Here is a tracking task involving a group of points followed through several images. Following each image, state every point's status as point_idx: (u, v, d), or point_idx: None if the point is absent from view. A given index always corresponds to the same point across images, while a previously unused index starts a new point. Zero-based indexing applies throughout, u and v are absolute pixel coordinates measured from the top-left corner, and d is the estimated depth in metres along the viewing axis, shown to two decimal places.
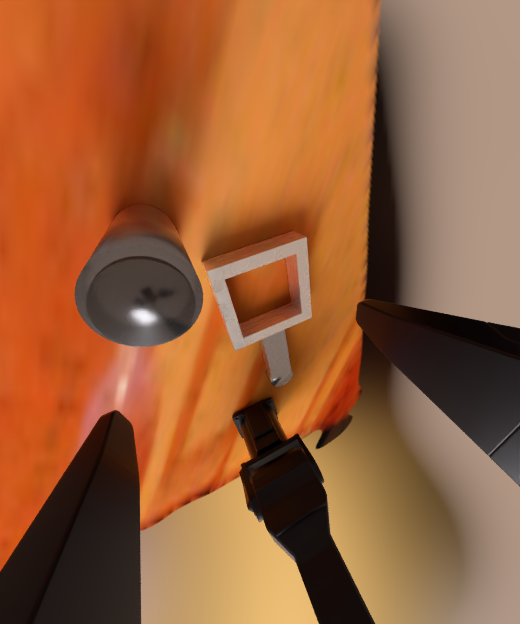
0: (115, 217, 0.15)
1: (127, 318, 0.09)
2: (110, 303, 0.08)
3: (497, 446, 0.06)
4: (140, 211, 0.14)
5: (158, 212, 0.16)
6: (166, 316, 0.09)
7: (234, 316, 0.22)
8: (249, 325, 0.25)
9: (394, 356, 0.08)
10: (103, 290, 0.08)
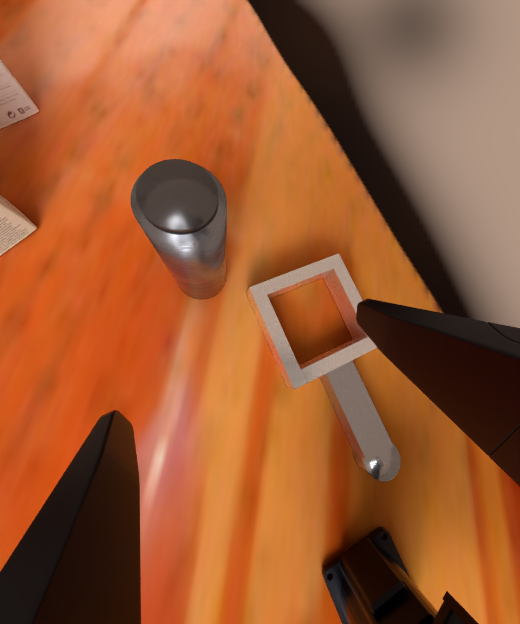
0: None
1: (163, 200, 0.11)
2: (152, 187, 0.11)
3: (498, 446, 0.06)
4: None
5: None
6: (194, 202, 0.11)
7: (284, 337, 0.20)
8: (307, 362, 0.21)
9: (394, 356, 0.08)
10: (150, 177, 0.11)
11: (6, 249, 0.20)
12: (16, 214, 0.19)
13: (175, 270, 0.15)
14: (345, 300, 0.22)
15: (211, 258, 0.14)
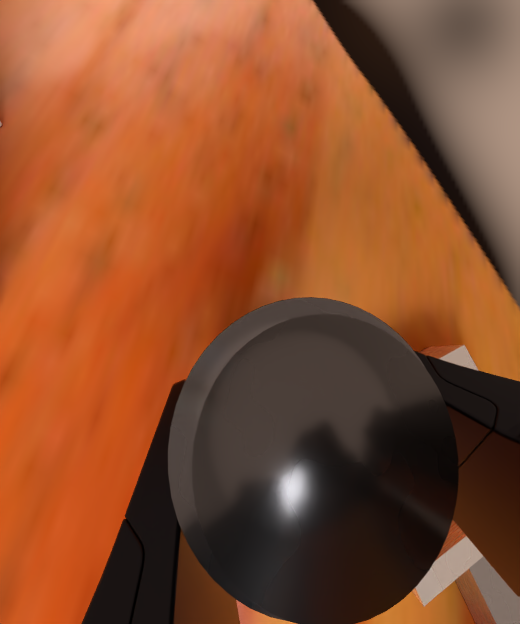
0: None
1: (291, 496, 0.03)
2: (250, 439, 0.03)
3: None
4: None
5: None
6: (389, 481, 0.03)
7: None
8: None
9: None
10: (239, 398, 0.03)
11: None
12: None
13: None
14: None
15: None
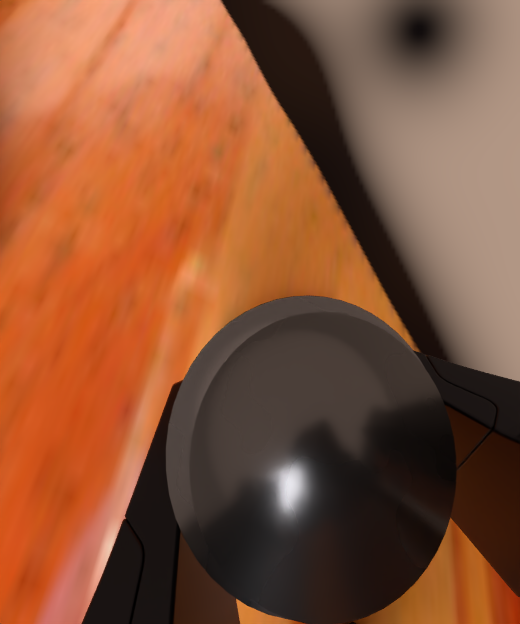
0: None
1: (288, 493, 0.03)
2: (249, 437, 0.03)
3: None
4: None
5: None
6: (387, 479, 0.03)
7: None
8: None
9: None
10: (237, 396, 0.03)
11: None
12: None
13: None
14: None
15: None
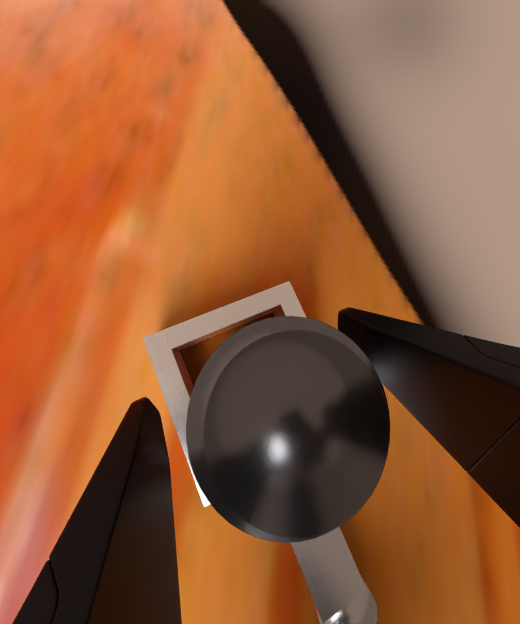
0: None
1: (269, 454, 0.04)
2: (243, 416, 0.04)
3: (475, 462, 0.06)
4: None
5: None
6: (338, 446, 0.05)
7: None
8: None
9: (374, 367, 0.08)
10: (235, 389, 0.04)
11: None
12: None
13: None
14: None
15: None
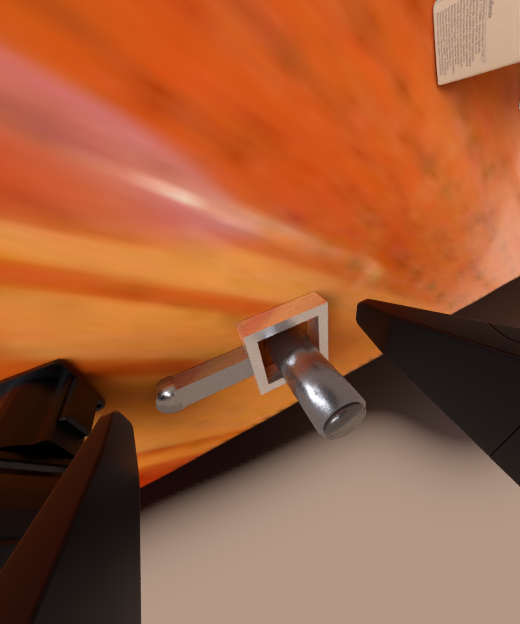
0: None
1: (345, 419, 0.18)
2: (354, 413, 0.18)
3: (498, 446, 0.06)
4: None
5: None
6: (339, 430, 0.18)
7: (284, 328, 0.23)
8: None
9: (394, 356, 0.08)
10: (359, 410, 0.18)
11: (436, 39, 0.17)
12: (465, 77, 0.17)
13: (297, 375, 0.21)
14: None
15: None
